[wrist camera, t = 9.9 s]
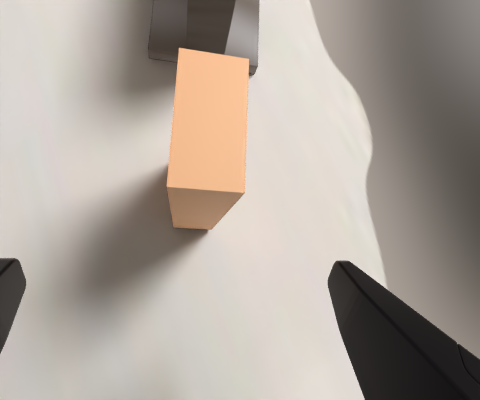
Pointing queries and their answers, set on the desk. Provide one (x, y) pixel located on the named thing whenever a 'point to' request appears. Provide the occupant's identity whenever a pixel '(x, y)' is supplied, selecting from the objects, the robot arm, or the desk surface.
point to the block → (207, 138)
